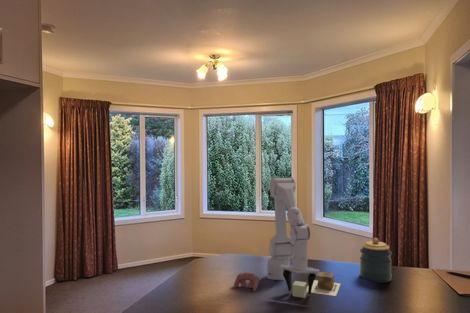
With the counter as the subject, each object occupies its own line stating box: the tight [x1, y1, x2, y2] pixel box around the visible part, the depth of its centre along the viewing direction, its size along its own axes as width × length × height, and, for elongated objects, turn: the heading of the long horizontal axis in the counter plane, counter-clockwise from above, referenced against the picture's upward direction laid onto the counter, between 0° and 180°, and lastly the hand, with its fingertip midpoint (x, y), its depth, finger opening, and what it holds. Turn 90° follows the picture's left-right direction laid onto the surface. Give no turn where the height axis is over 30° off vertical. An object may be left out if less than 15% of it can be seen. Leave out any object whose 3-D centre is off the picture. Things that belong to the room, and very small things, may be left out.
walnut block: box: [317, 271, 335, 290], centre depth 152 cm, size 6×6×5 cm
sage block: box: [292, 280, 308, 299], centre depth 144 cm, size 4×4×5 cm
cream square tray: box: [307, 279, 341, 297], centre depth 151 cm, size 12×14×1 cm
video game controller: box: [233, 272, 260, 292], centre depth 153 cm, size 10×5×7 cm, turn 65°
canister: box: [359, 237, 393, 284], centre depth 163 cm, size 13×13×18 cm
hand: (299, 291), depth 144 cm, fingers open, 7 cm apart
